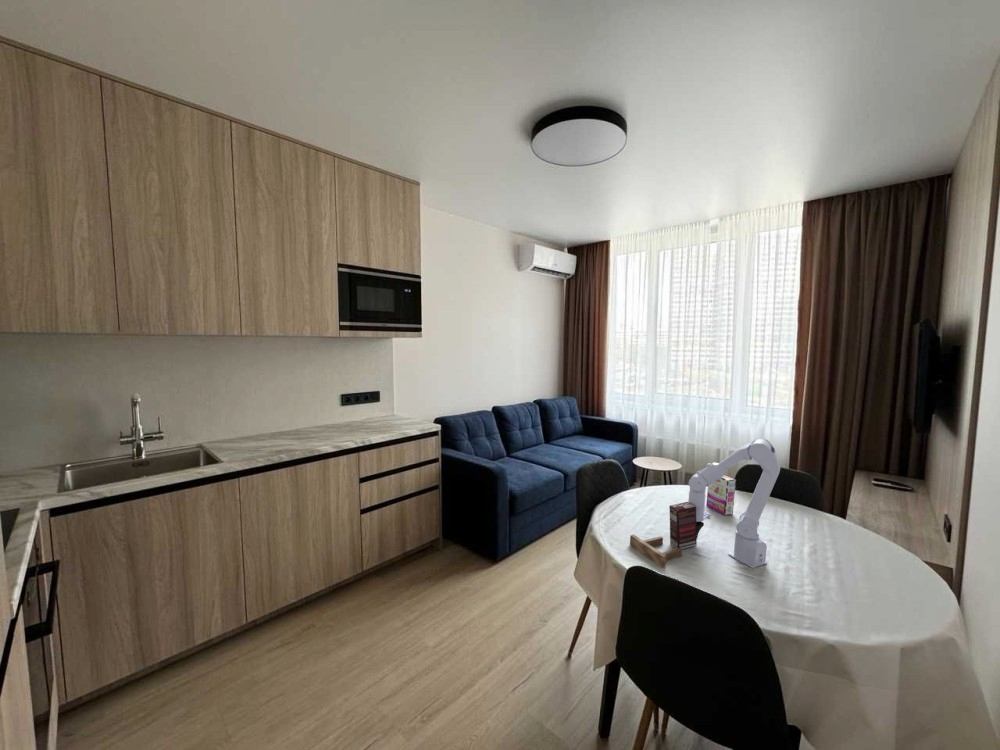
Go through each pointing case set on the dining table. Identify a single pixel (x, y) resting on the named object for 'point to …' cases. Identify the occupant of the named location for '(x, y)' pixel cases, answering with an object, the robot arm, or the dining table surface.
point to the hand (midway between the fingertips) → (693, 538)
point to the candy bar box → (722, 495)
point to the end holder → (654, 550)
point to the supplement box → (683, 525)
